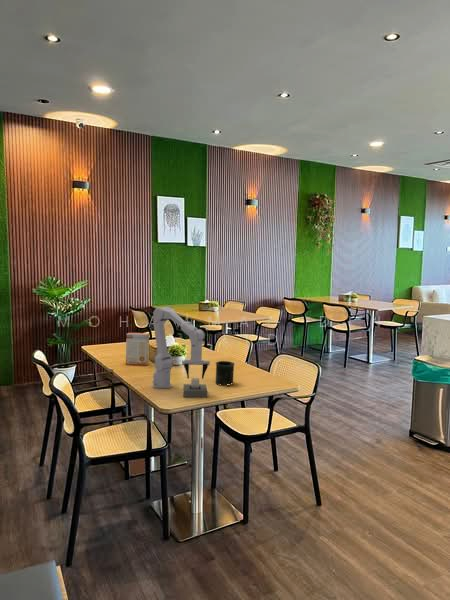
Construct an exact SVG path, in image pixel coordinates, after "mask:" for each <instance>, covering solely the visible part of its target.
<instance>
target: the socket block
mask: <svg viewBox="0 0 450 600" xmlns="http://www.w3.org/2000/svg"><path fill="white" fill-rule="evenodd" d="M183 391H184V392H183V398H197V397H207V398H208V388H207V384H204V383H203V384H202V383H201V384H200V383H199V389H191V383H190V384H189V383H187V384H186V383H183Z"/></svg>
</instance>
